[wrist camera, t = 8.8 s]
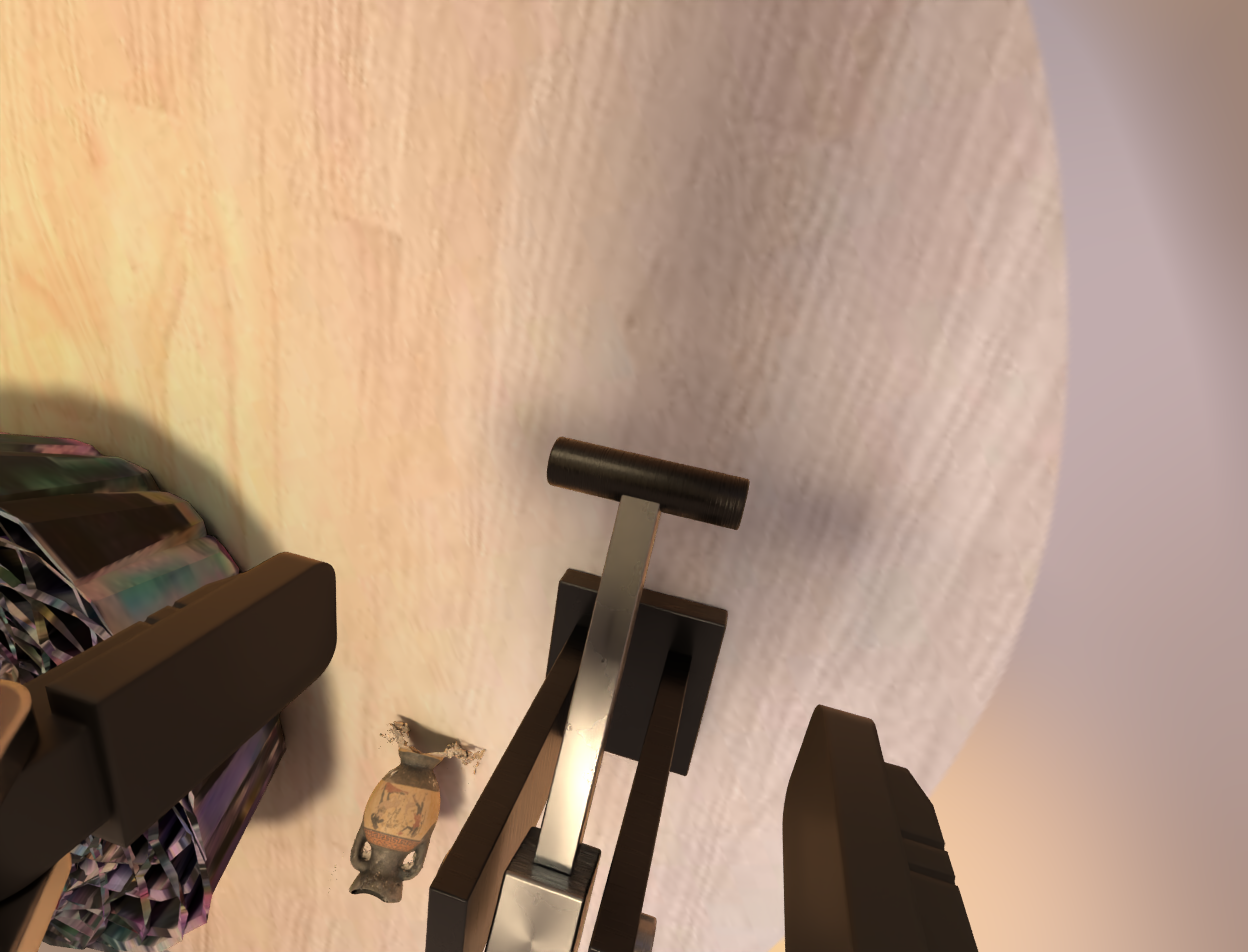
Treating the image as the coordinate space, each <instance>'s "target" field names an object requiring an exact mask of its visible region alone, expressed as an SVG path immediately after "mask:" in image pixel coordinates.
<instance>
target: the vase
mask: <svg viewBox="0 0 1248 952" xmlns="http://www.w3.org/2000/svg"><path fill="white" fill-rule="evenodd" d="M389 724H390V723H389ZM402 724H404V727H403V726H402ZM390 725H391V726H393V730H392V729H390V730H389V731H390V732H392V733H394V734H395V739H396V741H397V743H398V745H399V747H400V748H399V750H398V751H399V756H400V758H401V764H400V765H399V766H398V767H396V768H395V769H392V770H391V771H389V772H388V773H387V774H386V775H385V777H384V778H382V780H381V781H380V782H379V783H378V785H377V786H376V787H375V789H374V790H373V792H372V794H371V796H370V798H369V800H368V802H367V805H366V808H365V811H364V815H363V821H362V824H361V827H360V829H359V831H358V833H357V836H356V839H355V841H354V844H353V847H352V850H351V856H350V861H351V864H352V866H353V867H354V868H355V869H356V870H358V871H360V874H359V875H358V876H357V877H356V879H355V880H354V882H353V884H352V885H351V887H350V890H349V892H350V893H351V894H360V893H367V894H371V895H374V896H376V897H378V898H379V899H381V900H382V901H384V902H387V903H396V902H400V900H401V898H402V889H403V883H402V882H403V881H405V880H410V879H412V878H414V877H415V876H416V875H417V874H418V873H419V872H420V870H421V869H422V868H423V863H424V861H425V857H426V854H427V850H428V846H429V843H430V838H431V835H432V832H433V830H434V828H435V825H436V822H437V819H438V815H439V809H440V789H439V785H438V783H437V780H436V777H435V775H434V774H433V769H434V768H435V767H436V766H437V765H438V764H439V763H440V762H441V761H442V760H443V758H444V757H447V756H448V758H451V757H453V756H456V757H457V758H458V759H459V758H461V760H462V763H464V764H465V765H467V764H468V763H467V762H465V761H464V760H467V759H468V760H471V759H472V760H473V759H475V758H476V759H477V757H478V759H479V760H481V758H482V756H484V755H483V754H484V752H485V750H482V751H481V752H480V751H478V752H477V753H474V754H473V756H471V755H472V752H469V751H466V750H462V749H460V748H461V746H460V745H458V744H457V741H456V743H455V744H454V742H453V743H452V744H451V745H452V747H451V745H450V744H449V745H448V746H449V747H451V748H450V749H449V750H448V749H445V751H444V752H443V753H441V752H440V753H436V752H435V753H425V754H424V753H422V752H421V751H419V750H417V749H416V748H415V747H414V746H413V747H412V746H411V747H410V746H409V747H408V746H407V743H408V742H406V741H405V740H404V738H403V737H404V736H403V734H402V733H405V732H406V733H407V732H408V730H409V727H408V728H406V727H407V723H403V722H396V721H394V724H390ZM397 730H400V731H399V732H398V731H397ZM387 731H388V730H387ZM390 732H389V733H390ZM409 732H410V730H409ZM385 735H386V734H385ZM380 736H382V737H383V736H384V734H380ZM388 736H389V735H388ZM393 736H394V735H393ZM408 736H409V734H408ZM384 738H386V737H384ZM389 738H390V736H389ZM392 739H394V738H390V740H388V741H389V742H390V743H391V742H393V741H394V740H395V739H394V740H392ZM391 740H392V741H391ZM387 743H388V742H387ZM448 746H447V747H448ZM380 747H381V746H380ZM455 752H457V753H458V754H457V755H456V754H455ZM479 752H480V753H479ZM458 755H459V756H458ZM469 755H470V756H469ZM462 757H464V758H462ZM469 763H471V762H469ZM478 764H479V763H478V762H477V764H476V766H475V767H477V766H478ZM461 769H462V768H461ZM474 774H475V770H474ZM468 784H469V783H468ZM367 841H368V843H369V844H370V845H371V850H369V852H367V850H365V848H364V846H365V842H367ZM366 848H367V846H366ZM363 849H364V850H365V851H363ZM413 851H415V853H414V855H413V862H410V863H409V862H408V863H407V864H405V865H404V864H403V861H404V859H405V858H406V856H407V855H408V854H409V853H411V852H413ZM343 853H344V852H343ZM342 857H343V856H342ZM411 861H412V860H411ZM329 866H330V865H329ZM335 868H336V865H335ZM335 871H336V870H335ZM333 872H334V871H333ZM331 875H332V874H331ZM336 880H337V879H336ZM329 889H330V888H329ZM328 893H329V892H328Z"/></svg>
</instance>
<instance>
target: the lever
mask: <svg viewBox="0 0 1248 952" xmlns="http://www.w3.org/2000/svg"><path fill="white" fill-rule="evenodd" d="M547 480H548V483H549V484H550V485H552V486H557V487H561V488H565V489H569V490H573V491H577V492H581V493H585V494H590V495H594V496H598V497H602V498H606V499H610V500H614V501H618V502H620V504H619V508H618V512H617V516H616V520H615V524H614V528H613V532H612V537H611V541H610V545H609V549H608V553H607V557H606V561H605V565H604V569H603V574H602V578H601V582H600V586H599V590H598V594H597V598H596V602H595V606H594V611H593V615H592V619H591V623H590V627H589V631H588V635H587V639H586V643H585V648H584V652H583V656H582V660H581V664H580V668H579V672H578V676H577V680H576V685H575V689H574V693H573V697H572V701H571V705H570V709H569V713H568V717H567V722H566V726H565V730H564V734H563V738H562V742H561V746H560V750H559V754H558V759H557V763H556V767H555V771H554V775H553V779H552V783H551V787H550V791H549V796H548V800H547V804H546V808H545V812H544V816H543V820H542V824H541V828H537V827H531V828H530V830H529V831H528V833H527V835H526V836H525V838H524V840H523V841H522V843H521V845H520V846H519V848H518V850H517V851H516V853H515V855H514V856H513V858H512V860H511V861H510V863H509V865H508V867H507V868H506V870H505V872H504V874H503V878H502V882H501V887H500V891H499V895H498V899H497V903H496V907H495V911H494V915H493V919H492V923H491V927H490V931H489V935H488V939H487V944H486V948H485V952H577V951H578V948H579V945H580V941H581V936H582V932H583V928H584V924H585V920H586V915H587V911H588V907H589V903H590V898H591V894H592V890H593V886H594V882H595V877H596V873H597V869H598V865H599V861H600V856H601V850H600V849H598V848H595V847H592V846H589V845H587V844H584V843H582V841H583V837H584V833H585V829H586V825H587V821H588V816H589V812H590V808H591V804H592V800H593V795H594V791H595V787H596V783H597V779H598V775H599V770H600V766H601V762H602V758H603V754H604V749H605V745H606V741H607V737H608V733H609V729H610V724H611V720H612V716H613V712H614V708H615V704H616V699H617V695H618V691H619V687H620V683H621V678H622V674H623V670H624V666H625V662H626V658H627V653H628V649H629V645H630V641H631V637H632V632H633V628H634V624H635V620H636V616H637V612H638V607H639V603H640V599H641V595H642V591H643V587H644V582H645V578H646V574H647V570H648V566H649V561H650V557H651V553H652V549H653V545H654V541H655V536H656V532H657V528H658V524H659V520H660V515H661V512H664V513H668V514H672V515H676V516H680V517H684V518H689V519H693V520H697V521H701V522H705V523H709V524H713V525H717V526H722V527H726V528H730V529H734V530H738V528H739V526H740V523H741V519H742V515H743V511H744V507H745V503H746V499H747V494H748V489H749V479H746V478H741V477H737V476H733V475H728V474H724V473H719V472H715V471H711V470H706V469H702V468H697V467H693V466H689V465H684V464H680V463H675V462H671V461H667V460H662V459H658V458H654V457H649V456H645V455H640V454H636V453H632V452H627V451H623V450H618V449H614V448H610V447H605V446H601V445H596V444H592V443H588V442H583V441H579V440H574V439H570V438H566V437H559V438H558V439H557V440H556V442H555V444H554V446H553V448H552V450H551V453H550V457H549V461H548V466H547Z"/></svg>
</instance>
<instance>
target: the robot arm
mask: <svg viewBox="0 0 1248 952" xmlns="http://www.w3.org/2000/svg"><path fill="white" fill-rule="evenodd" d="M336 642H337V623H336V577H335V572H334V569H333V567H332V566H331V565H330V564H328V563H325V562H321V561H318V560H314V559H311V558H307V557H304V556H300V555H297V554H293V553H289V552H283V553H279V554H277V555H275V556H273V557H272V558H270V559H268V560H266V561H265V562H263V563H261V564H259V565H257V566H256V567H254V568H252V569H250V570H249V571H247V572H244V573H241V574H237V575H234V576H231V577H228V578H225V579H221V580H218V581H215V582H212V583H209V584H206V585H204V586H202V587H201V588H199V589H197V590H195V591H193V592H191V593H190V594H188V595H186V596H184V597H182V598H181V599H179V600H177V601H175V602H174V605H173V606H172V607H171V606H166V607H164V608H162V609H160V610H159V611H157V612H155V613H153V614H151V615H149V616H148V617H147V619H146V620H145V621H144V622H142V621H138V622H137V623H135V624H133V625H131V626H129V627H127V628H126V629H124V630H122V631H120V632H118V633H117V634H115V635H113V636H111V637H109V638H107V639H106V640H104V641H102V642H100V643H98V644H96V645H95V646H93V647H91V648H89V649H87V650H85V651H84V652H82V653H80V654H78V655H76V656H74V657H73V658H71V659H69V660H67V661H65V662H63V663H62V664H60V665H58V666H56V667H54V668H53V669H51V670H49V671H47V672H45V673H43V674H42V675H40V676H38V677H36V678H34V679H32V680H31V681H29V682H27V683H25V684H23V685H21V684H20V683H17V682H14V681H10V680H2V679H0V952H38V950H39V947H40V945H41V942H42V940H43V937H44V935H45V933H46V930H47V928H48V925H49V923H50V920H51V918H52V915H53V913H54V910H55V908H56V906H57V903H58V901H59V898H60V896H61V893H62V891H63V888H64V886H65V884H66V881H67V879H68V876H69V874H70V870H71V867H72V856H71V852H70V851H71V850H73V849H74V848H75V847H76V846H77V845H79V844H80V843H81V842H82V841H83V840H85V839H86V838H87V837H88V836H90V835H93V836H95V837H98V838H100V839H103V840H105V841H108V842H111V843H113V844H116V845H118V846H121V847H123V848H127V847H129V846H130V845H131V844H132V843H133V842H134V841H135V840H136V839H138V838H139V837H140V836H141V835H142V834H143V833H144V832H145V831H147V830H148V829H149V828H150V827H151V826H152V825H153V824H154V823H156V822H157V821H158V820H159V819H160V818H161V817H162V816H163V815H165V814H166V813H167V812H168V811H169V810H170V809H171V808H172V807H174V806H175V805H176V804H177V803H178V802H179V801H180V800H181V799H183V798H184V797H185V796H186V795H187V794H188V793H189V792H190V791H192V790H193V789H194V788H195V787H196V786H197V785H198V784H199V783H201V782H202V781H203V780H204V779H205V778H206V777H207V776H208V775H210V774H211V773H212V772H213V771H214V770H215V769H216V768H217V767H219V766H220V765H221V764H222V763H223V762H224V761H225V760H226V759H228V758H229V757H230V756H231V755H232V754H233V753H234V752H235V751H237V750H238V749H239V748H240V747H241V746H242V745H243V744H244V743H245V742H247V741H248V740H249V739H250V738H251V737H252V736H253V735H254V734H256V733H257V732H258V731H259V730H260V729H261V728H262V727H263V726H265V725H266V724H267V723H268V722H269V721H270V720H271V719H272V718H274V717H275V716H276V715H277V714H278V713H279V712H280V711H281V710H283V709H284V708H285V707H286V706H287V705H288V704H289V703H290V702H292V701H293V700H294V699H295V698H296V697H297V696H298V695H299V694H301V693H302V692H303V691H304V690H305V689H306V688H307V687H308V686H310V685H311V684H312V683H313V682H314V681H315V680H316V679H317V678H318V677H319V676H320V675H321V674H322V673H323V672H324V671H325V669H326V668H327V666H328V665H329V663H330V661H331V659H332V657H333V654H334V651H335V648H336ZM944 845H945V843H944V839H943V836H942V833H941V830H940V826H939V823H938V820H937V816H936V813H935V810H934V807H933V804H932V803H931V802H930V800H929V799H928V797H927V796H926V795H925V793H924V792H923V790H922V789H921V787H920V786H919V785H918V783H917V782H916V780H915V779H914V778H913V776H912V775H911V773H910V772H909V770H908V769H906V768H903V767H900V766H896V765H893V764H889V763H886V762H884V759H883V755H882V751H881V747H880V742H879V738H878V734H877V730H876V726H875V724H874V722H873V720H872V719H869V718H866V717H862V716H859V715H855V714H851V713H848V712H844V711H841V710H837V709H834V708H830V707H827V706H823V705H818V706H816V708H815V710H814V712H813V714H812V717H811V720H810V722H809V725H808V728H807V731H806V734H805V737H804V740H803V743H802V746H801V748H800V751H799V754H798V757H797V760H796V763H795V766H794V769H793V771H792V774H791V777H790V780H789V784H788V787H787V792H786V797H785V803H784V811H783V872H784V914H785V952H978V949H977V946H976V943H975V940H974V936H973V933H972V930H971V927H970V923H969V920H968V917H967V914H966V910H965V907H964V904H963V901H962V897H961V894H960V891H959V888H958V886H956V885H955V875H954V871H953V868H952V865H951V862H950V859H949V855H948V852H947V851H945V850H944Z"/></svg>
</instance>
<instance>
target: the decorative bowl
mask: <svg viewBox="0 0 1248 952" xmlns="http://www.w3.org/2000/svg"><path fill="white" fill-rule="evenodd" d="M237 574H239V568H238V566H237V565H236V563H235V562H234V561H233V559H232V558H231V556H230V555H229V553H228V552H227V550H226V549H225V548H224V547H223V545H222V544H221V543H220V542H219V541H218V540H217V539H216V538H215V537H213V536H210V535H207V533H206V528H205V524H204V521H203V519H202V518H201V517H200V516H199V514H198V513H197V512H196V511H195V510H194V508H193V507H192V506H191V505H190V503H189V502H188V501H186V500H184V499H182V498H180V497H178V496H175V495H173V494H171V493H169V492H161V491H160V490H159V488H158V486H157V485H156V483H155V481H154V479H153V478H152V476H151V474H150V472H149V471H148V470H146V469H144V468H142V467H140V466H137V465H135V464H133V463H131V462H129V461H127V460H124V459H122V458H120V457H110V456H102V455H101V454H100V453H99V452H98V451H97V450H96V449H95V448H94V447H93V446H92V445H89V444H86V443H83V442H80V441H78V440H75V439H68V438H55V437H41V436H27V435H14V434H9V433H3V432H0V679H2V680H10V681H14V682H17V683H20V684H21V685H23V684H25V683H27V682H29V681H31V680H32V679H34V678H36V677H38V676H40V675H42V674H43V673H45V672H47V671H49V670H51V669H53V668H54V667H56V666H58V665H60V664H62V663H63V662H65V661H67V660H69V659H71V658H73V657H74V656H76V655H78V654H80V653H82V652H84V651H85V650H87V649H89V648H91V647H93V646H95V645H96V644H98V643H100V642H102V641H104V640H106V639H107V638H109V637H111V636H113V635H115V634H117V633H118V632H120V631H122V630H124V629H126V628H127V627H129V626H131V625H133V624H135V623H137V622H138V621H142V622H144V621H145V620H146V619H147V617H148V616H149V615H151V614H153V613H155V612H157V611H159V610H160V609H162V608H164V607H166V606H171V607H172V606H173V605H174V602H175V601H177V600H179V599H181V598H182V597H184V596H186V595H188V594H190V593H191V592H193V591H195V590H197V589H199V588H201V587H202V586H204V585H206V584H209V583H212V582H215V581H218V580H221V579H225V578H228V577H231V576H234V575H237ZM279 715H280V712H279V713H278V714H277V715H276V716H275V717H274V718H272V719H271V720H270V721H269V722H268V723H267V724H266V725H265V726H263V727H262V728H261V729H260V730H259V731H258V732H257V733H256V734H254V735H253V736H252V737H251V738H250V739H249V740H248V741H247V742H245V743H244V744H243V745H242V746H241V747H240V748H239V749H238V750H237V751H235V752H234V753H233V754H232V755H231V756H230V757H229V758H228V759H226V760H225V761H224V762H223V763H222V764H221V765H220V766H219V767H217V768H216V769H215V770H214V771H213V772H212V773H211V774H210V775H208V776H207V777H206V778H205V779H204V780H203V781H202V782H201V783H199V784H198V785H197V786H196V787H195V788H194V789H193V790H192V791H190V792H189V793H188V794H187V795H186V796H185V797H184V798H183V799H181V800H180V801H179V802H178V803H177V804H176V805H175V806H174V807H172V808H171V809H170V810H169V811H168V812H167V813H166V814H165V815H163V816H162V817H161V818H160V819H159V820H158V821H157V822H156V823H154V824H153V825H152V826H151V827H150V828H149V829H148V830H147V831H145V832H144V833H143V834H142V835H141V836H140V837H139V838H138V839H136V840H135V841H134V842H133V843H132V844H131V845H130V846H129V847H127V848H123V847H121V846H118V845H116V844H113V843H111V842H108V841H105V840H103V839H100V838H98V837H95V836H93V835H90V836H88V837H87V838H86V839H85V840H83V841H82V842H81V843H80V844H79V845H77V846H76V847H75V848H74V849H73V850H71V851H70V852H71V856H72V867H71V870H70V874H69V876H68V879H67V881H66V884H65V886H64V888H63V891H62V893H61V896H60V898H59V901H58V903H57V906H56V908H55V910H54V913H53V915H52V918H51V920H50V923H49V925H48V928H47V930H46V933H45V935H44V937H43V940H42V941H43V942H45V943H47V944H49V945H53V946H60V947H67V948H75V949H85V948H86V947H88V948H91V949H96V950H100V951H104V952H124V951H129V952H162V951H164V950H166V949H168V948H170V947H172V946H173V945H175V944H177V943H179V942H181V941H182V939H183V935H184V934H186V933H188V932H190V931H192V930H194V929H195V928H197V927H199V926H201V925H203V924H205V923H207V919H208V914H209V908H210V903H211V898H212V894H213V892H214V890H215V888H216V886H217V884H218V882H219V880H220V878H221V876H222V874H223V872H224V870H225V869H226V867H227V865H228V863H229V861H230V859H231V857H232V855H233V853H234V851H235V849H236V847H237V845H238V843H239V841H240V839H241V837H242V835H243V833H244V831H245V829H246V827H247V825H248V823H249V821H250V819H251V817H252V815H253V813H254V811H255V809H256V808H257V806H258V804H259V802H260V800H261V798H262V796H263V794H264V792H265V790H266V788H267V786H268V784H269V782H270V780H271V778H272V776H273V774H274V772H275V770H276V768H277V766H278V764H279V762H280V760H281V758H282V756H283V754H284V752H285V750H286V745H285V741H284V736H283V732H282V728H281V724H280V719H279Z"/></svg>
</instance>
